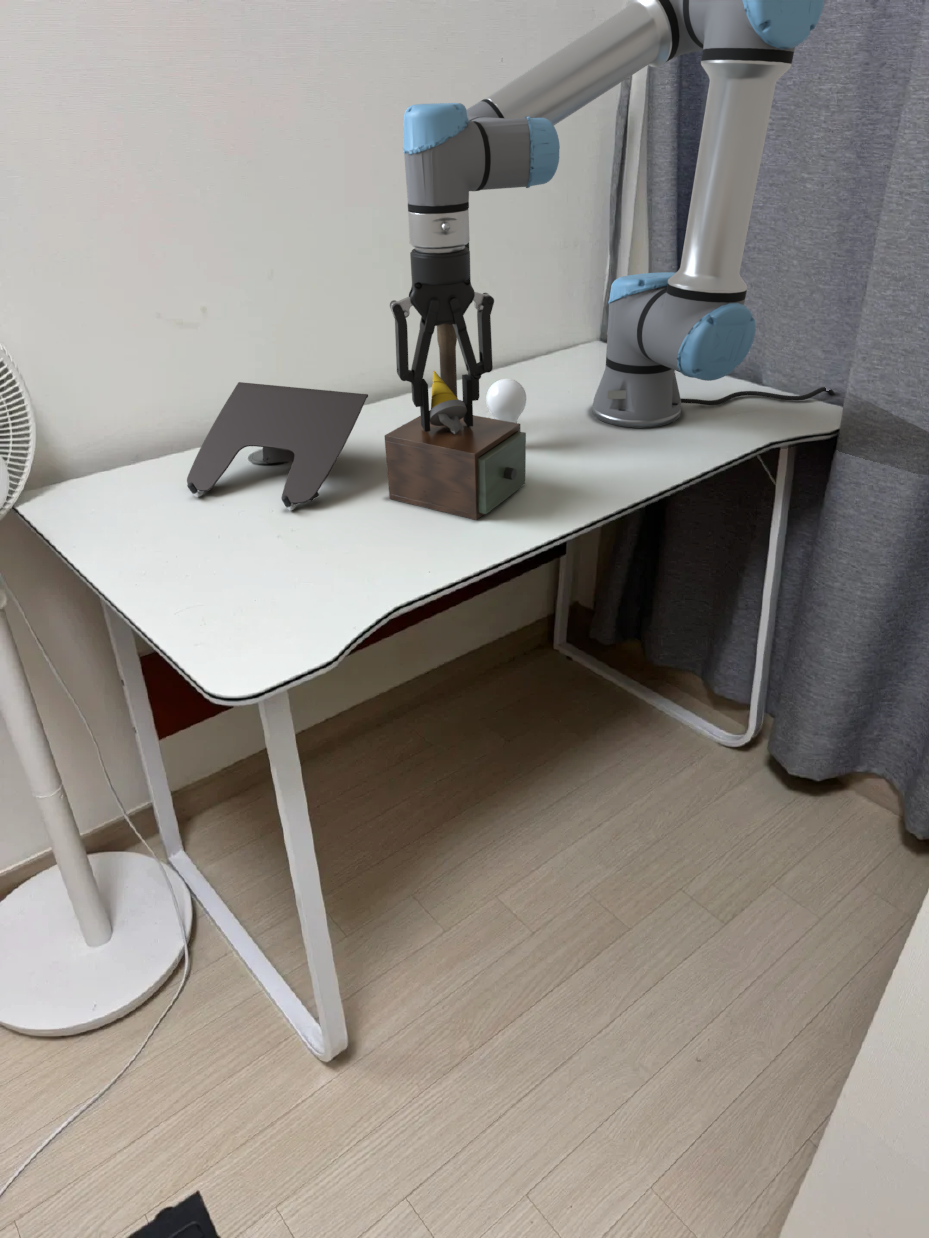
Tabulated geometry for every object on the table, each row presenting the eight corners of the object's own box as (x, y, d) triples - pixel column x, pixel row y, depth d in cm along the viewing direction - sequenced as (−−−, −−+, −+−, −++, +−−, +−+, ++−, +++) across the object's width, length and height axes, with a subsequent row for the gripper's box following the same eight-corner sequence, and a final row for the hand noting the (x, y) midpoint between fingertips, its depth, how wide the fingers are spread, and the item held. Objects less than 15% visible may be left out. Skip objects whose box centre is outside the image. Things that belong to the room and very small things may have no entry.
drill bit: (428, 441, 117) (407, 377, 119) (452, 446, 121) (432, 384, 123) (456, 421, 114) (434, 356, 116) (480, 427, 118) (459, 364, 120)
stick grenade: (477, 421, 150) (473, 235, 133) (473, 439, 142) (468, 245, 126) (429, 421, 150) (419, 236, 134) (422, 439, 143) (411, 246, 127)
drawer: (532, 485, 124) (533, 434, 120) (493, 516, 116) (493, 462, 112) (447, 467, 131) (445, 417, 126) (404, 494, 123) (400, 443, 118)
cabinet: (520, 486, 126) (520, 423, 121) (476, 520, 117) (474, 454, 112) (436, 468, 133) (433, 407, 127) (389, 499, 124) (384, 435, 119)
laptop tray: (194, 522, 132) (166, 483, 125) (255, 413, 143) (233, 371, 135) (327, 542, 125) (306, 503, 118) (380, 427, 136) (364, 383, 128)
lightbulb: (505, 436, 143) (505, 370, 137) (533, 445, 139) (535, 378, 133) (478, 447, 140) (477, 380, 134) (507, 457, 136) (507, 388, 130)
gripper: (371, 258, 103) (386, 442, 115) (519, 247, 106) (517, 427, 119) (362, 247, 109) (377, 423, 121) (502, 237, 112) (503, 410, 125)
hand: (447, 425), depth 120 cm, fingers closed on drill bit, 5 cm apart
